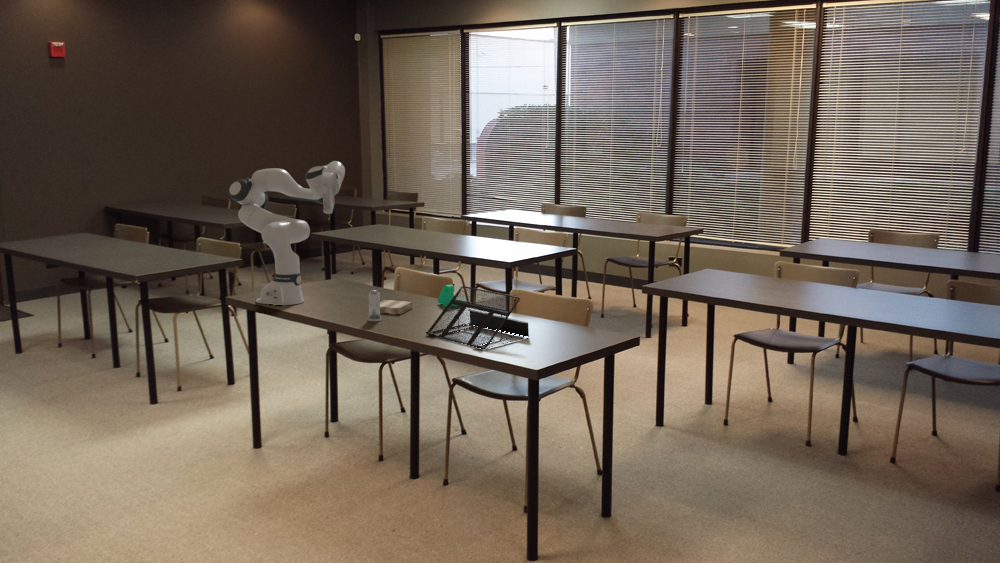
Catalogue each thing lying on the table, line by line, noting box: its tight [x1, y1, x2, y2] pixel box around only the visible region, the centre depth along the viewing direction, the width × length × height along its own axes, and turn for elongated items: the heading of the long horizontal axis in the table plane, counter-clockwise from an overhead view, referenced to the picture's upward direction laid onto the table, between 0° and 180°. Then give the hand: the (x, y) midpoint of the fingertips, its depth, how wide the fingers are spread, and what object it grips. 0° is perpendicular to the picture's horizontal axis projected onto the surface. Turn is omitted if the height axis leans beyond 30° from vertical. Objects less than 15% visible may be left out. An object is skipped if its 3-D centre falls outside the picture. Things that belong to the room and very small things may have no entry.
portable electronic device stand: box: [425, 285, 530, 350], centre depth 331 cm, size 33×28×18 cm
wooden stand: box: [380, 299, 413, 315], centre depth 377 cm, size 14×14×3 cm
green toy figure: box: [437, 284, 465, 308], centre depth 388 cm, size 12×8×10 cm, turn 46°
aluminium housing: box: [367, 289, 383, 323], centre depth 357 cm, size 6×6×13 cm
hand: (324, 202), depth 367 cm, fingers open, 8 cm apart
